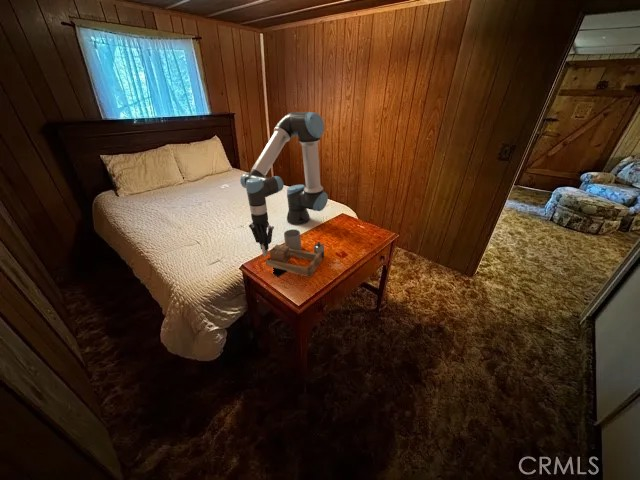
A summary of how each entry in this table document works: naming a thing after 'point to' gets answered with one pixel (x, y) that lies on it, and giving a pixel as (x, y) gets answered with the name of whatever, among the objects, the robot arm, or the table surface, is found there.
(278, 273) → the smartphone
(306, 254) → the bay
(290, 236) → the cup
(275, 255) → the crate
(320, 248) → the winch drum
